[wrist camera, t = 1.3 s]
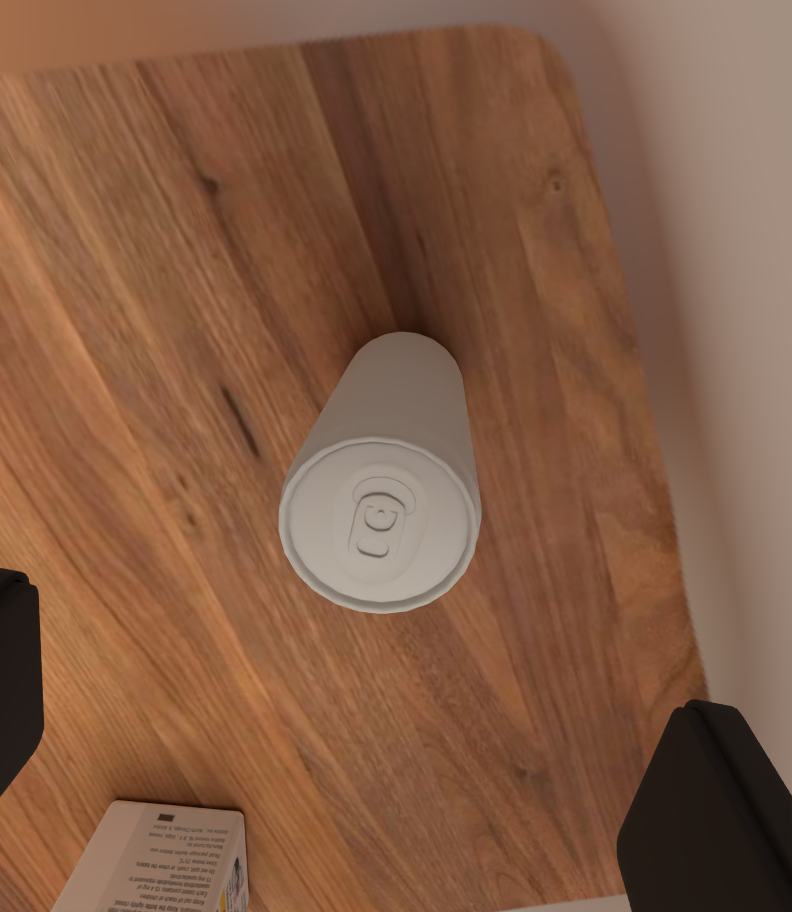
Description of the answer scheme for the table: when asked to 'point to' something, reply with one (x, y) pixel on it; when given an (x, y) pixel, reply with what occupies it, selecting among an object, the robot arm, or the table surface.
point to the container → (161, 862)
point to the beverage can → (386, 482)
